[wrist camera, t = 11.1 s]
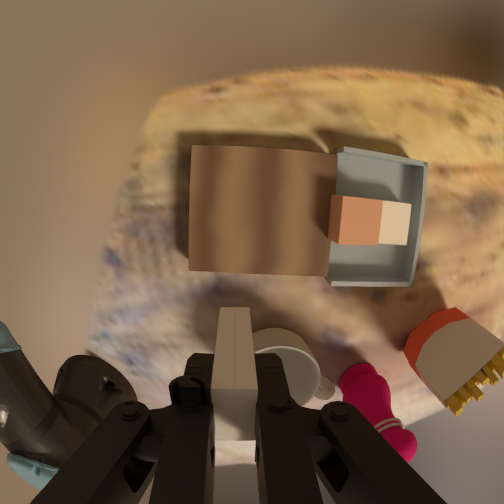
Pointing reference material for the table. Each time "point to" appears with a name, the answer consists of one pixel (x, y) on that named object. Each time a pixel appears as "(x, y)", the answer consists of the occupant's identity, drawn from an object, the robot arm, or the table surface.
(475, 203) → the table surface
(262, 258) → the walnut board
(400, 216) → the cream square block
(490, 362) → the french fries container
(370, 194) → the tray
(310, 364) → the teacup
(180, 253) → the table surface
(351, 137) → the table surface
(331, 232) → the orange square block
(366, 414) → the pepper mill
